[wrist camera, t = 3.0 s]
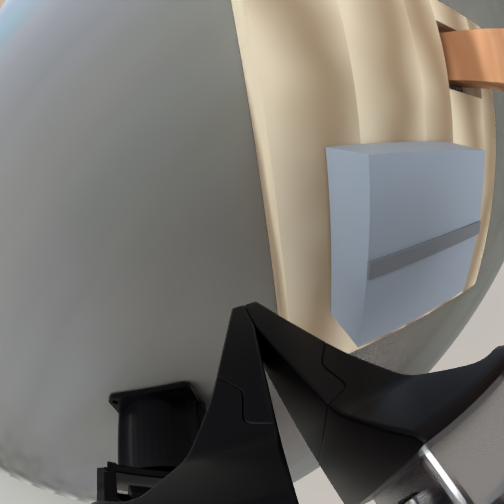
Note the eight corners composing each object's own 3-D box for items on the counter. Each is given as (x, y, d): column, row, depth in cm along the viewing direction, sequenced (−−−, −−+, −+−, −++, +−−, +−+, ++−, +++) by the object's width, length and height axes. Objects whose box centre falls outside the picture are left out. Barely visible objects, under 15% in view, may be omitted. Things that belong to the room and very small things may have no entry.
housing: (330, 313, 15) (359, 349, 12) (325, 147, 11) (371, 155, 8) (434, 270, 16) (465, 291, 14) (446, 141, 12) (487, 150, 10)
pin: (431, 79, 13) (544, 89, 5) (423, 35, 11) (531, 29, 3) (456, 86, 13) (554, 100, 5) (449, 46, 12) (545, 49, 4)
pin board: (282, 355, 18) (293, 375, 17) (224, -32, 8) (233, -51, 6) (461, 275, 22) (474, 284, 20) (462, 28, 11) (479, 27, 9)
